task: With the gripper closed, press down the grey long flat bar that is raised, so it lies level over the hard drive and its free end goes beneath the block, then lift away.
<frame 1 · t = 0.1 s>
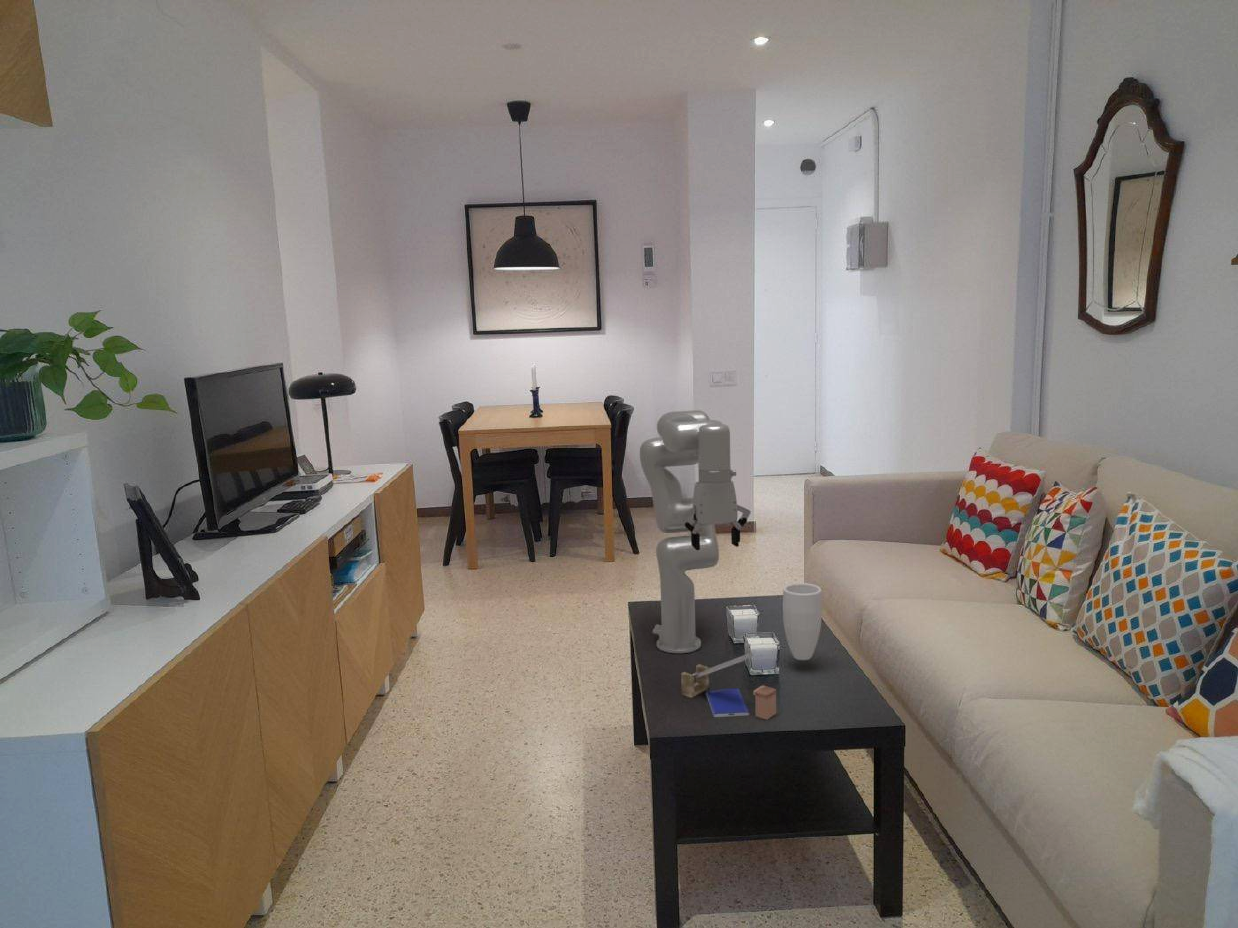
hand: (715, 547, 199), 37 cm above the table, tool pointing down, fingers open, 9 cm apart
hard drive: (726, 707, 199), on the table
pivot bracket: (695, 691, 207), on the table
grey long flat bar: (719, 666, 200), point 8 cm above the table, hinge at 30.0°
cup: (802, 667, 219), on the table
block: (765, 714, 193), on the table
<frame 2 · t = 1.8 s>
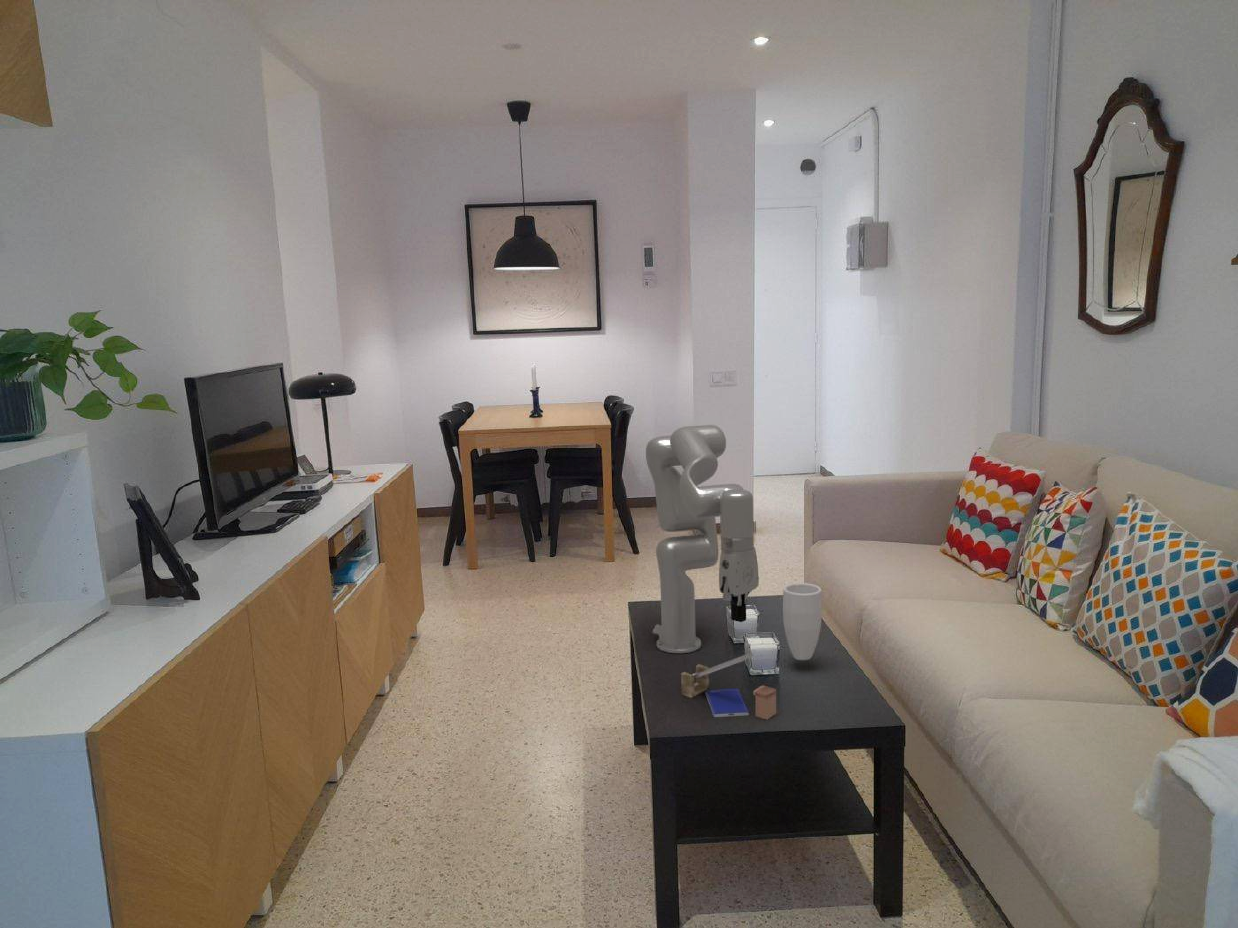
hand: (738, 620, 194), 21 cm above the table, tool pointing down, fingers closed
nothing on the table moved.
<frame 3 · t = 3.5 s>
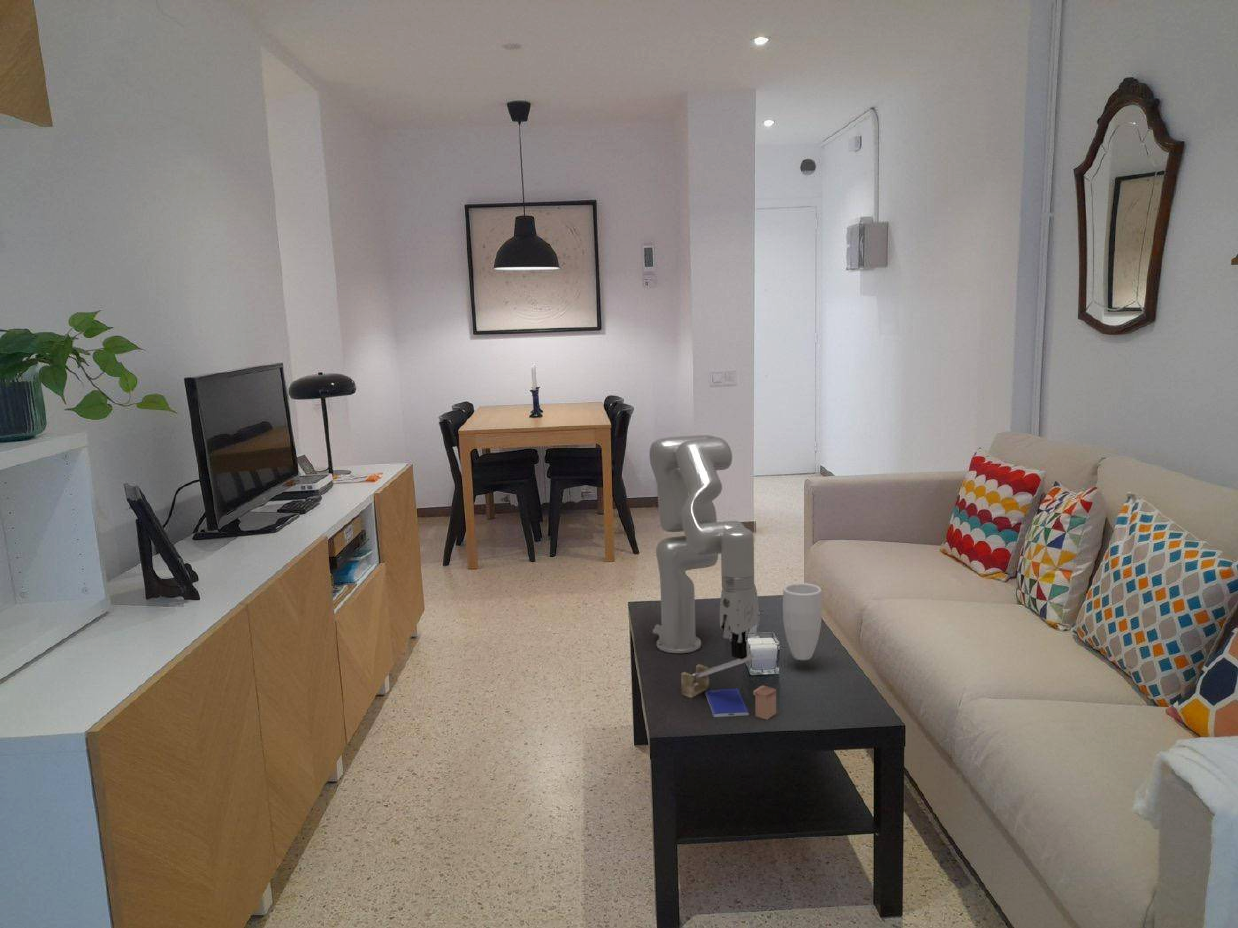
hand: (739, 656, 196), 12 cm above the table, tool pointing down, fingers closed
grey long flat bar: (719, 667, 200), point 8 cm above the table, hinge at 28.6°, touching gripper
everything else where it was.
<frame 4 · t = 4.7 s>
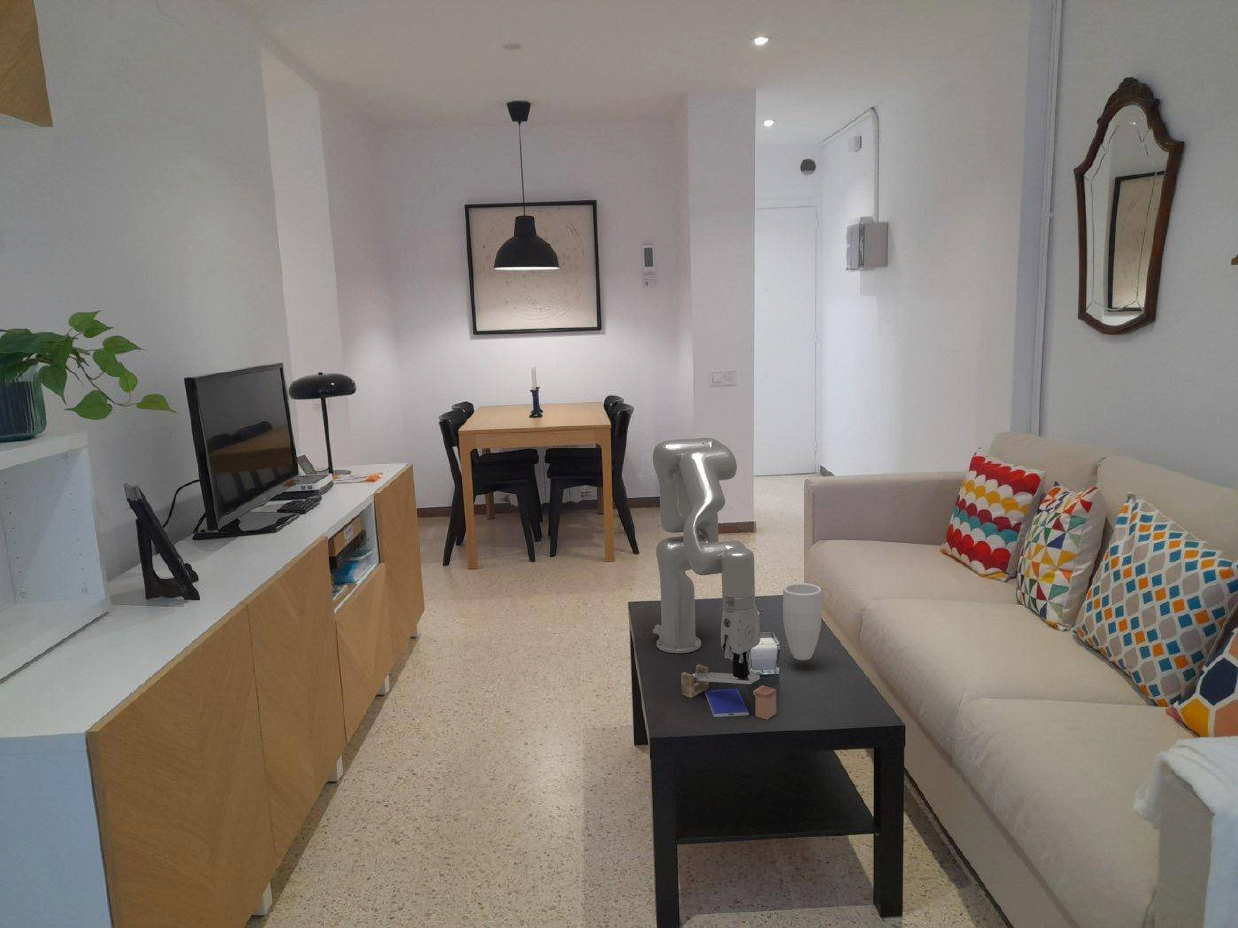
hand: (740, 676, 196), 8 cm above the table, tool pointing down, fingers closed
grey long flat bar: (722, 677, 200), point 6 cm above the table, hinge at 12.3°, touching gripper
everything else where it was.
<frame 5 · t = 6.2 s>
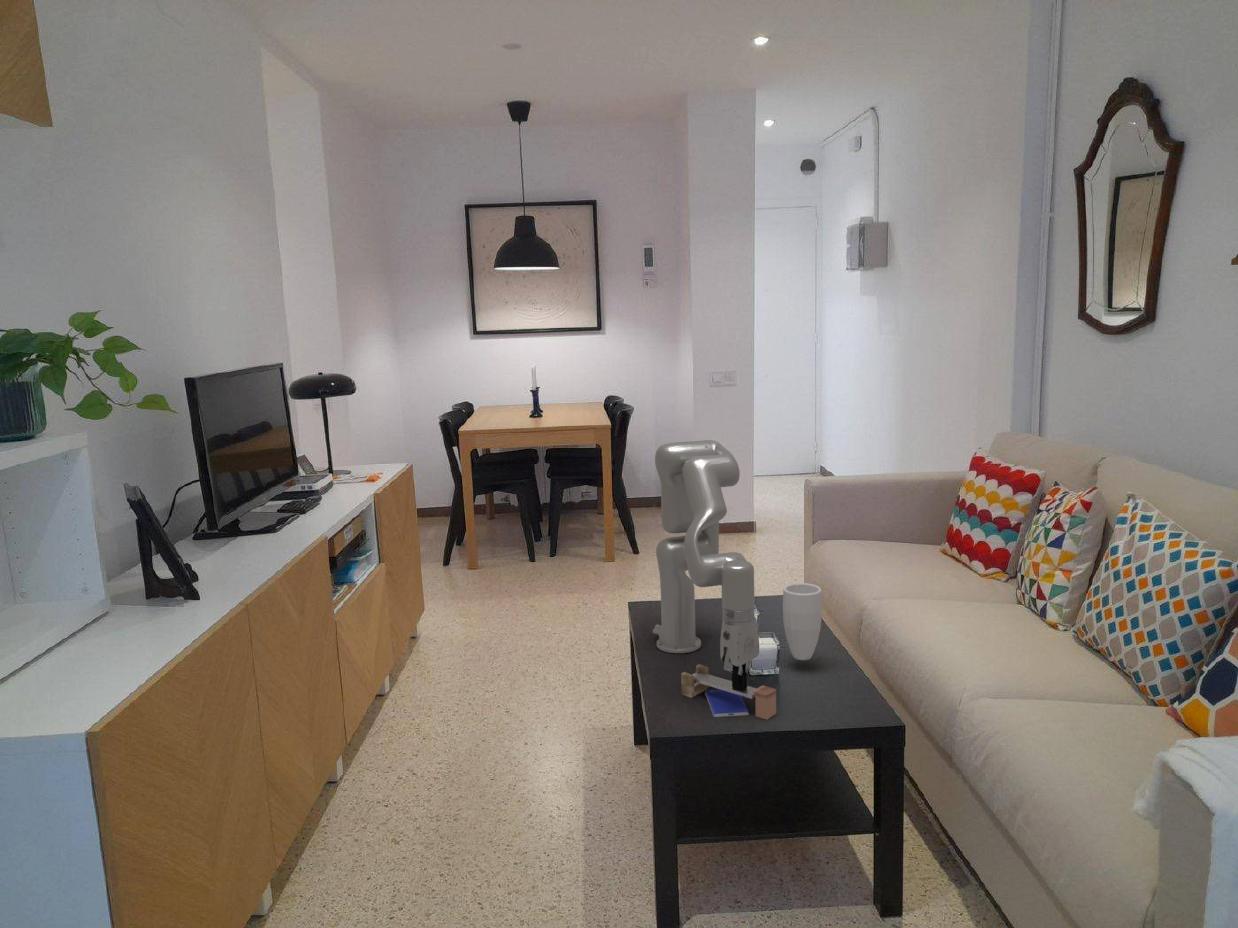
hand: (739, 688, 197), 5 cm above the table, tool pointing down, fingers closed
grey long flat bar: (723, 684, 200), point 4 cm above the table, hinge at 1.1°, touching gripper
everything else where it was.
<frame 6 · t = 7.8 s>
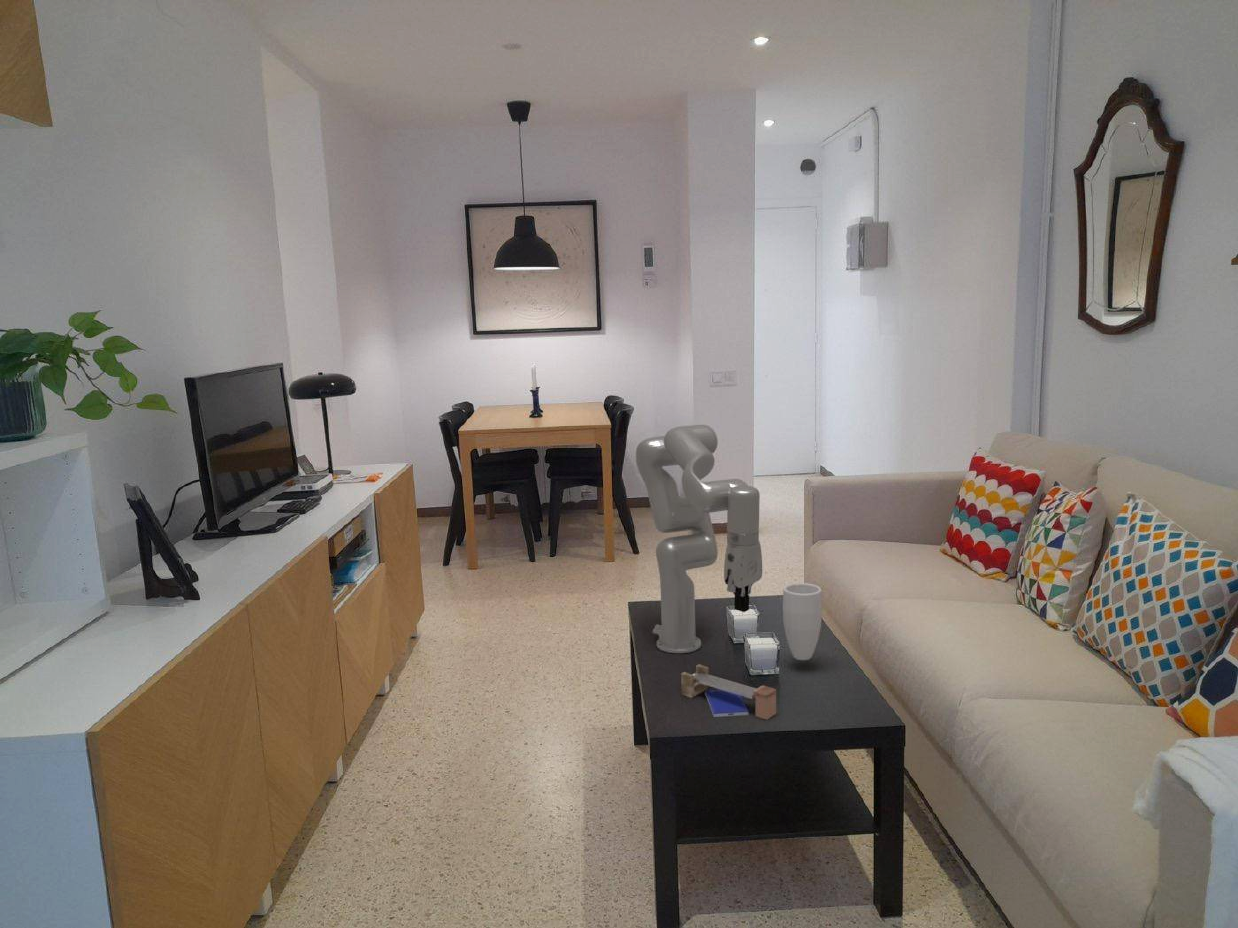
hand: (741, 609, 203), 21 cm above the table, tool pointing down, fingers closed
grey long flat bar: (723, 684, 200), point 4 cm above the table, hinge at 1.1°
everything else where it was.
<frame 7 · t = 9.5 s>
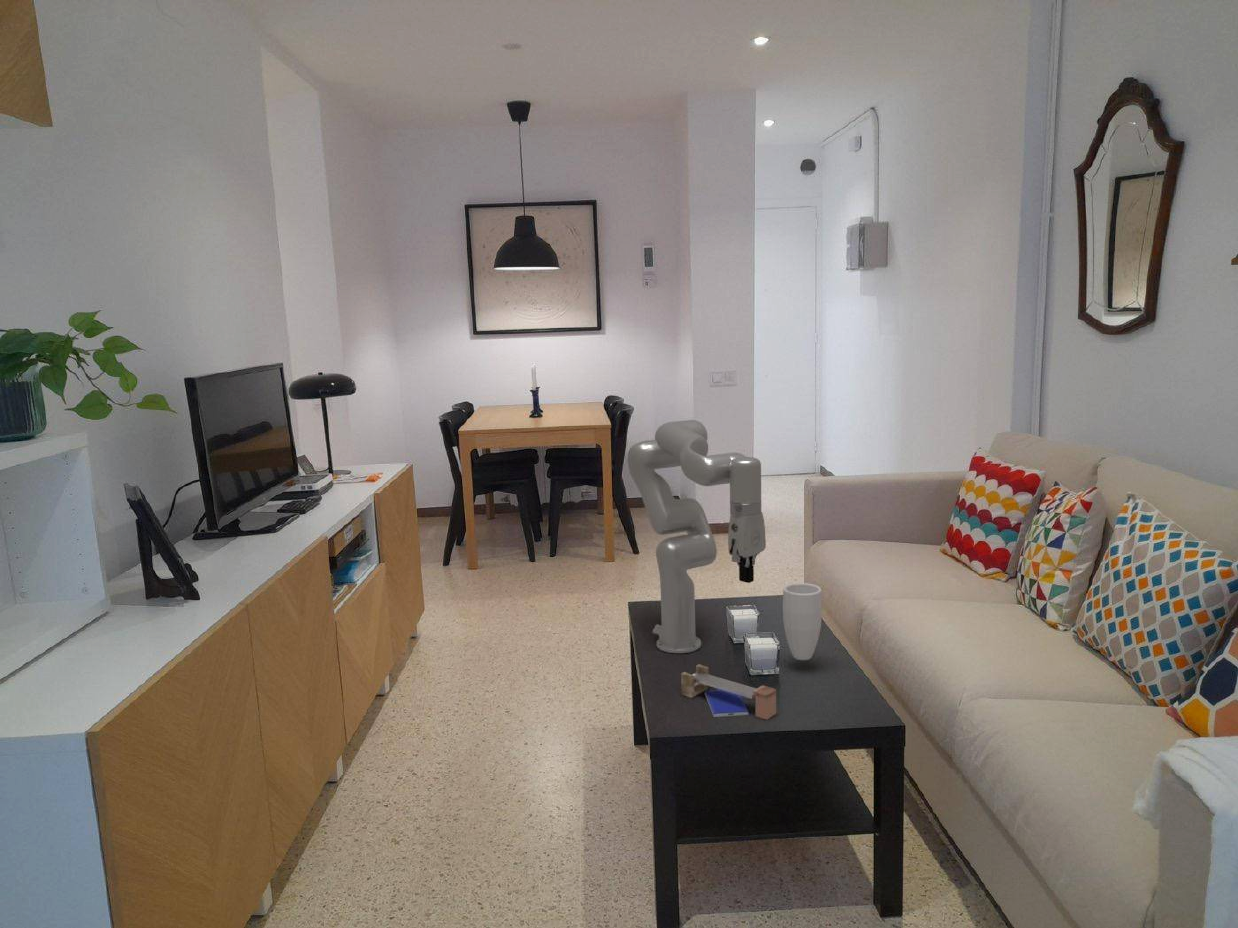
hand: (746, 581, 205), 27 cm above the table, tool pointing down, fingers closed
nothing on the table moved.
at the end: grey long flat bar at +1° (first picture: +30°); hard drive moved 0.8 cm from its start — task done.
